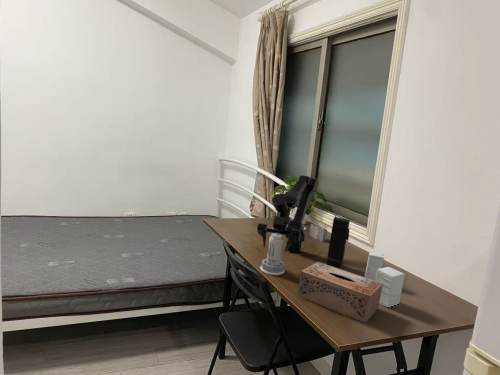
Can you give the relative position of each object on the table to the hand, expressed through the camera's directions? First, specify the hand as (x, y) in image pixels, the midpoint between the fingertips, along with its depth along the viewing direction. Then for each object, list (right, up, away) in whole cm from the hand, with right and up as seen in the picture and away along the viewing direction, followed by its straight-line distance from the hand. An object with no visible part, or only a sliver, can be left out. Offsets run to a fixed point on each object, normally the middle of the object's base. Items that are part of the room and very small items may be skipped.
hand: (274, 249), depth 153 cm
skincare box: (+42, -15, +4) cm, 45 cm away
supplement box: (+41, -18, -15) cm, 47 cm away
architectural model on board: (+29, -4, +57) cm, 64 cm away
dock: (-1, -9, +3) cm, 10 cm away
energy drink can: (-1, -9, +3) cm, 9 cm away
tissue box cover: (+22, -17, -19) cm, 34 cm away
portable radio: (+30, -11, +17) cm, 36 cm away
